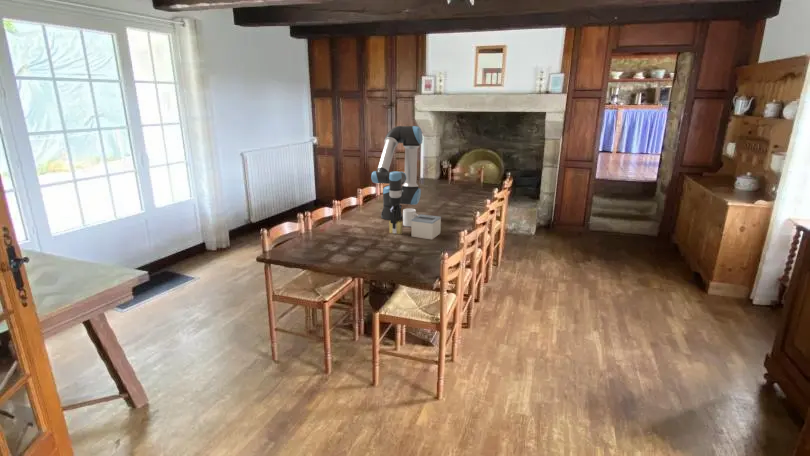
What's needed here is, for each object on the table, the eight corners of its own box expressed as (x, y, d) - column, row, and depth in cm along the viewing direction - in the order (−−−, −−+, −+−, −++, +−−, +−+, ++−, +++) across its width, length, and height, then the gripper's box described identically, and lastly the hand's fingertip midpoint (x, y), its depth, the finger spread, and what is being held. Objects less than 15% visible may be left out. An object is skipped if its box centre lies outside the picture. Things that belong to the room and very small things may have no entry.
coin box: (411, 236, 269) (411, 219, 266) (420, 230, 281) (420, 214, 278) (432, 239, 264) (432, 222, 260) (440, 233, 276) (440, 216, 273)
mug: (416, 228, 286) (416, 212, 283) (400, 225, 292) (400, 210, 289) (422, 225, 293) (422, 209, 290) (406, 222, 299) (406, 207, 296)
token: (389, 232, 277) (389, 220, 274) (391, 231, 279) (390, 219, 276) (400, 234, 273) (400, 222, 271) (402, 233, 276) (402, 221, 273)
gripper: (395, 199, 261) (395, 236, 268) (406, 194, 274) (406, 230, 281) (384, 198, 264) (384, 235, 271) (395, 193, 277) (395, 228, 284)
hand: (395, 232), depth 276 cm, fingers closed on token, 2 cm apart
